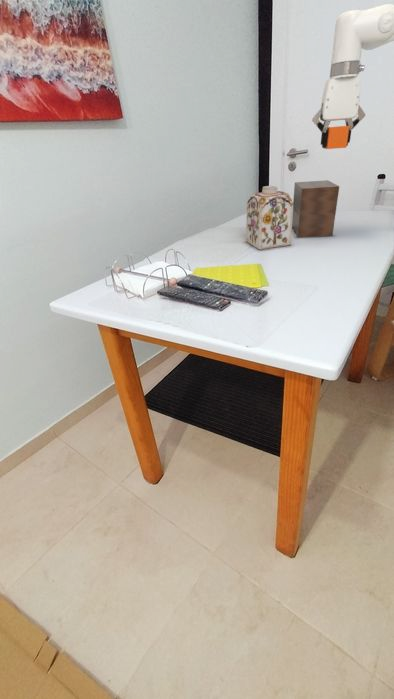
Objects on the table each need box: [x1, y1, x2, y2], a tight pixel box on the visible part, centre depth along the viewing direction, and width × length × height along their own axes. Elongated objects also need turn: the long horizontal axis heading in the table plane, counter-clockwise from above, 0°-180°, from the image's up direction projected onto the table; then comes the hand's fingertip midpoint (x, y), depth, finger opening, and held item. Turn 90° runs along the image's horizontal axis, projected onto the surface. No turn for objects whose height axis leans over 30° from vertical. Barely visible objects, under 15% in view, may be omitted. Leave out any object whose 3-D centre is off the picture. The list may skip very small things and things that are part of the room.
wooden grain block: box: [292, 179, 340, 238], centre depth 123 cm, size 12×17×16 cm
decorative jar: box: [245, 185, 293, 251], centre depth 112 cm, size 12×12×18 cm
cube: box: [323, 125, 349, 150], centre depth 103 cm, size 6×6×6 cm
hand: (334, 146), depth 105 cm, fingers closed on cube, 5 cm apart
